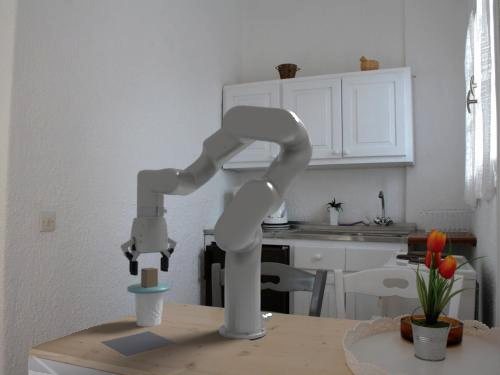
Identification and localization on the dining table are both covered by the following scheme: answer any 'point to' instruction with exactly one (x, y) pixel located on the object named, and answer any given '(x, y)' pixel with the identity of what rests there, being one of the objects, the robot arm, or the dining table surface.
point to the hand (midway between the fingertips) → (149, 273)
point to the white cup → (148, 309)
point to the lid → (149, 283)
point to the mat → (138, 343)
